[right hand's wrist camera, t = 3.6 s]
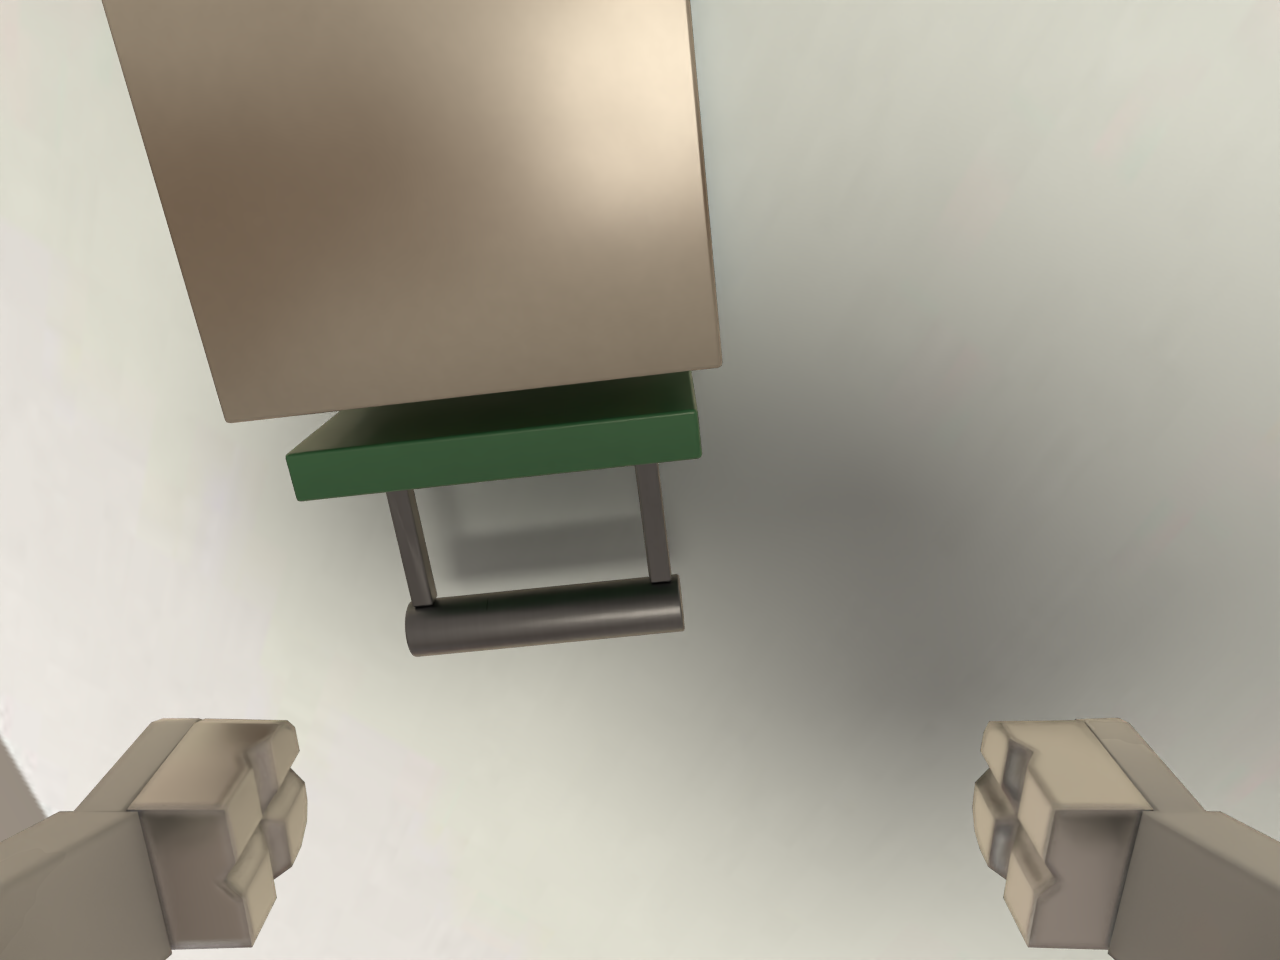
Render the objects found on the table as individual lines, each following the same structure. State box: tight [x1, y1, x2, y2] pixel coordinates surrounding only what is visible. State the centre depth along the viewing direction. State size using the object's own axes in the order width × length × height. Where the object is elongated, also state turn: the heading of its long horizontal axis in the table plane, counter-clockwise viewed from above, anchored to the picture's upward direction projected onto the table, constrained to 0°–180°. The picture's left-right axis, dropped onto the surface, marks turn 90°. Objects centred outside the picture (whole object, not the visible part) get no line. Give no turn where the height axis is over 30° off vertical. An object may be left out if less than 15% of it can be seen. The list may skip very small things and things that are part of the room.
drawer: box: [286, 371, 702, 657], centre depth 21 cm, size 26×10×6 cm, turn 7°
